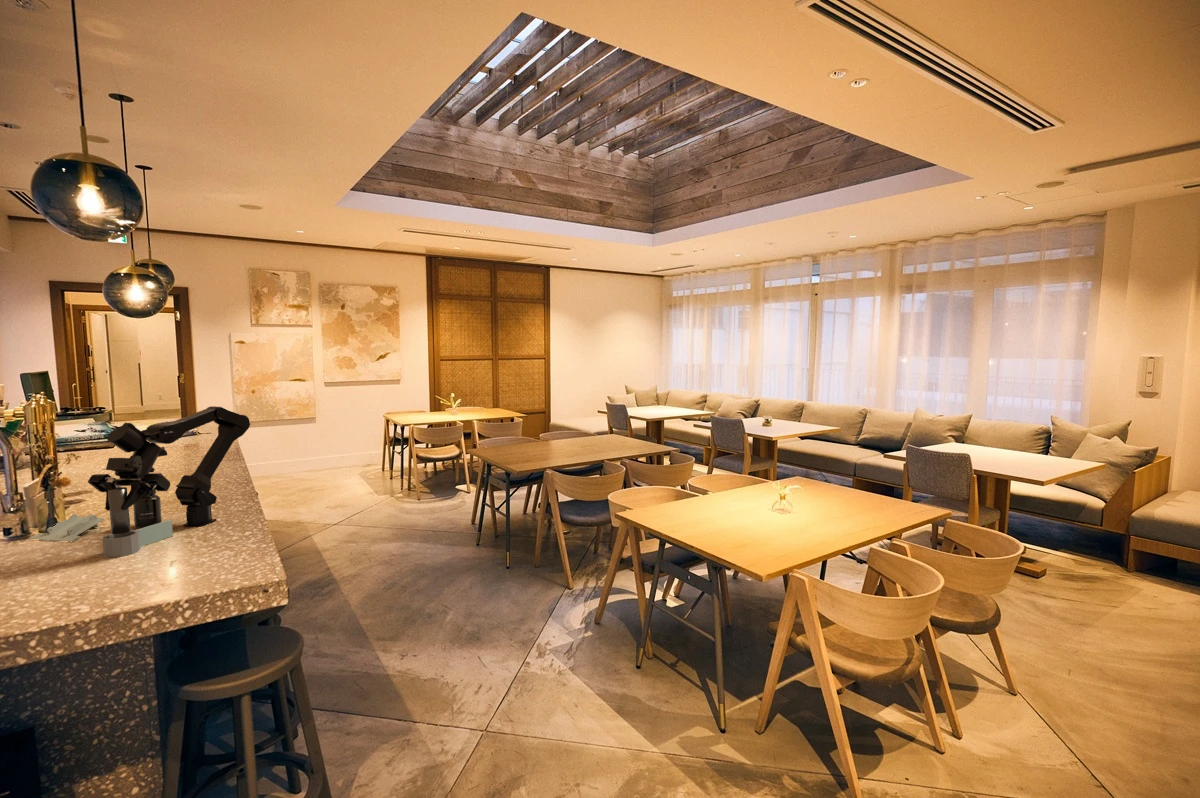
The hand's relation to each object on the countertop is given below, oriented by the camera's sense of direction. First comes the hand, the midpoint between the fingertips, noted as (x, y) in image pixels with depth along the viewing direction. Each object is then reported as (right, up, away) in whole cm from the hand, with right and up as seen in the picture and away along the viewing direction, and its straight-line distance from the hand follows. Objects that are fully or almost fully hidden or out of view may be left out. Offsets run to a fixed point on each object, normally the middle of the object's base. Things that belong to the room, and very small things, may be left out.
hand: (115, 509), depth 154 cm
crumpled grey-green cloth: (-29, -12, +18) cm, 36 cm away
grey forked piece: (-2, -12, +8) cm, 14 cm away
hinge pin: (0, -6, +2) cm, 7 cm away
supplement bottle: (-12, -10, +26) cm, 31 cm away
